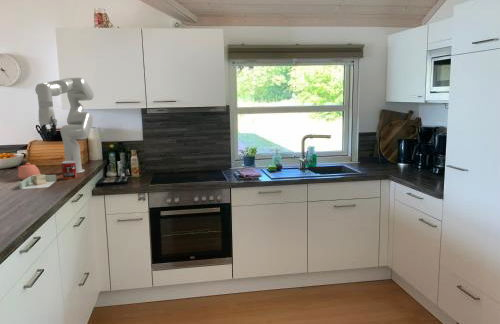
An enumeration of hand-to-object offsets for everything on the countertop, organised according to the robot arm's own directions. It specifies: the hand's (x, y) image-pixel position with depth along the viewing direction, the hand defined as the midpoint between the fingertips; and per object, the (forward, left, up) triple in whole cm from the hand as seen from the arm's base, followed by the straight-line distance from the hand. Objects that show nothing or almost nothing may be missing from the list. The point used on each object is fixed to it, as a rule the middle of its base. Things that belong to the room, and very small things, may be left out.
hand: (49, 134), depth 243 cm
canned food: (-2, +9, -28) cm, 30 cm away
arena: (+12, -5, -28) cm, 31 cm away
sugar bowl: (-12, -18, -29) cm, 36 cm away
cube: (+10, -5, -27) cm, 30 cm away
